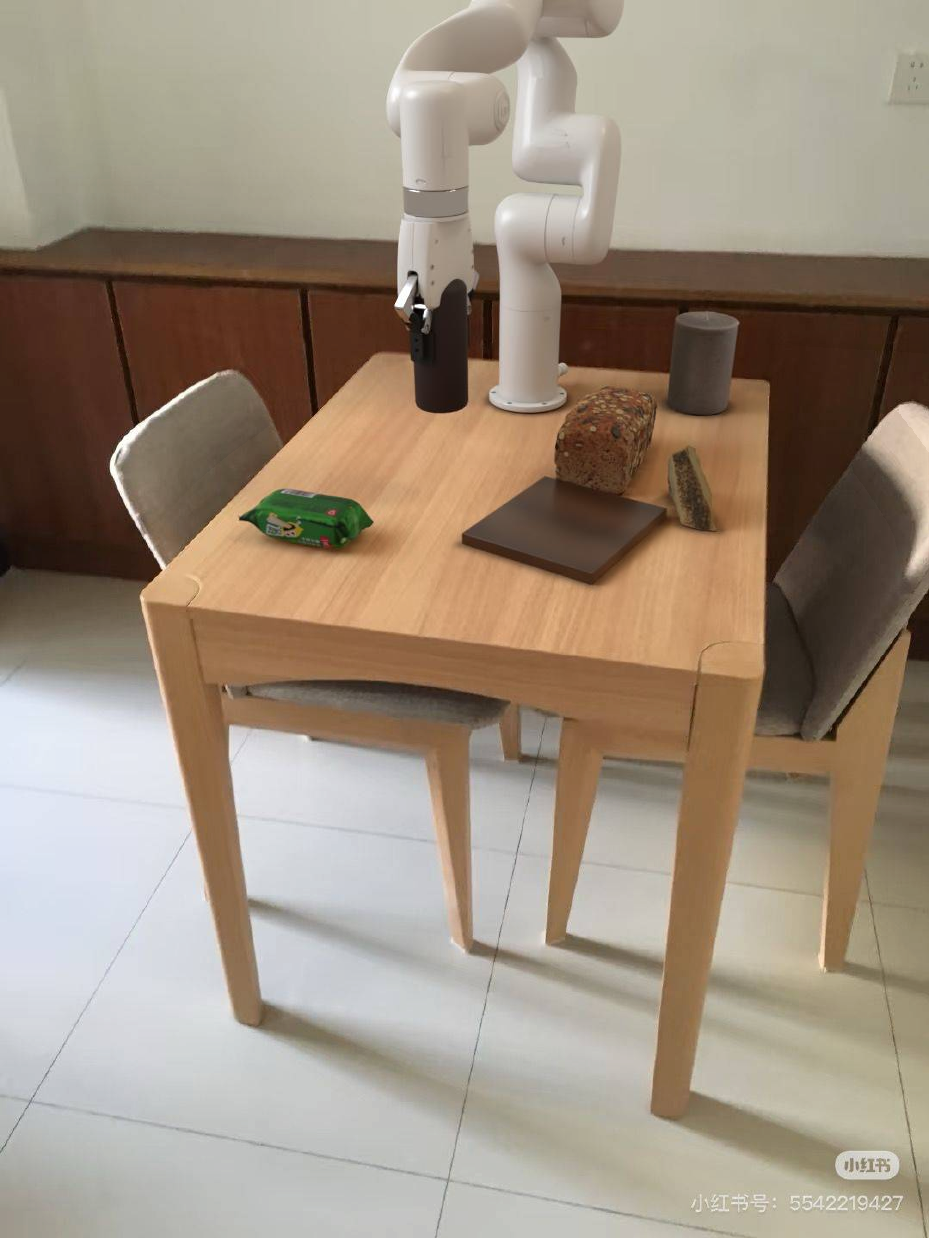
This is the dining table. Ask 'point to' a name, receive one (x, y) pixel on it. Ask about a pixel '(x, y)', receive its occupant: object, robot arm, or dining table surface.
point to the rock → (690, 490)
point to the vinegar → (445, 354)
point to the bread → (605, 439)
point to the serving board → (565, 528)
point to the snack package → (309, 518)
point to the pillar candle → (702, 362)
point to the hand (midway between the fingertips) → (440, 353)
